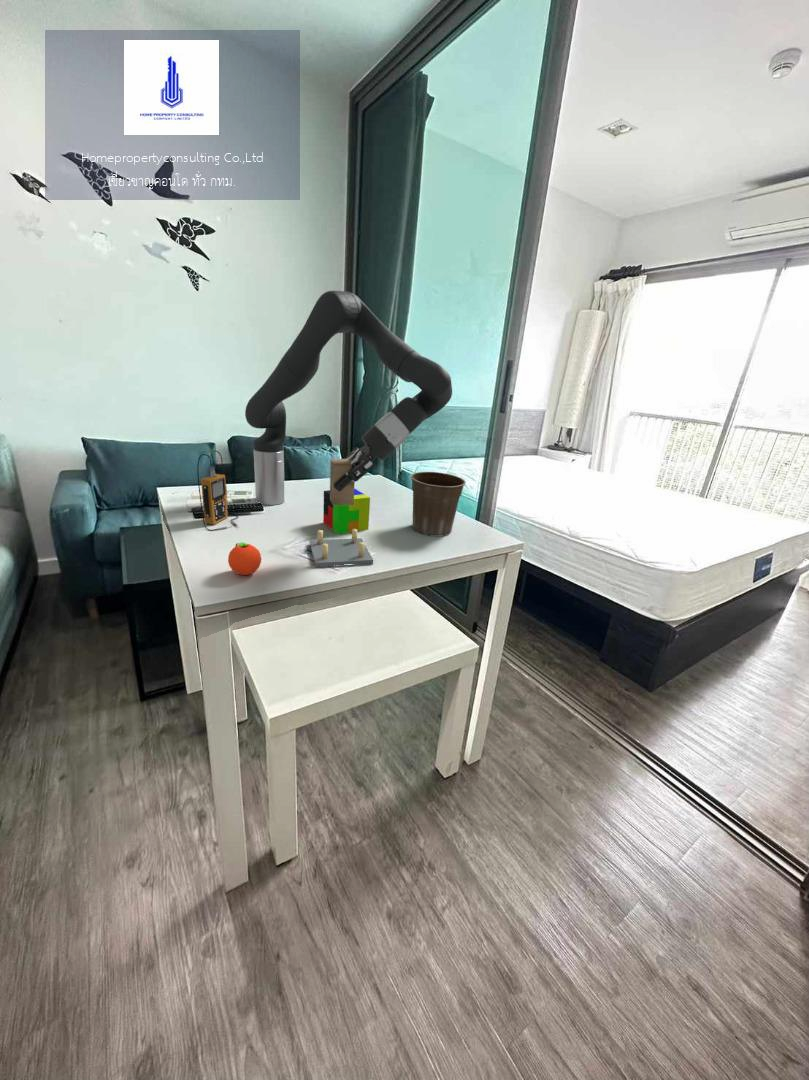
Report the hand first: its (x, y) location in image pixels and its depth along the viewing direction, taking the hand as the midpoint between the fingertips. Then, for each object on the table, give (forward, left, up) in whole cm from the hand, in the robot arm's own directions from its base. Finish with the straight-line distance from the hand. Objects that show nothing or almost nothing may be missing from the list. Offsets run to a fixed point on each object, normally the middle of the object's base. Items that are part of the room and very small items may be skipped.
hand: (334, 485), depth 104 cm
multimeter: (-25, -26, -18) cm, 41 cm away
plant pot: (-15, +33, -18) cm, 41 cm away
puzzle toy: (-20, +7, -18) cm, 28 cm away
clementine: (+8, -21, -18) cm, 29 cm away
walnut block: (0, +2, -4) cm, 5 cm away
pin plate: (0, +2, -18) cm, 18 cm away
